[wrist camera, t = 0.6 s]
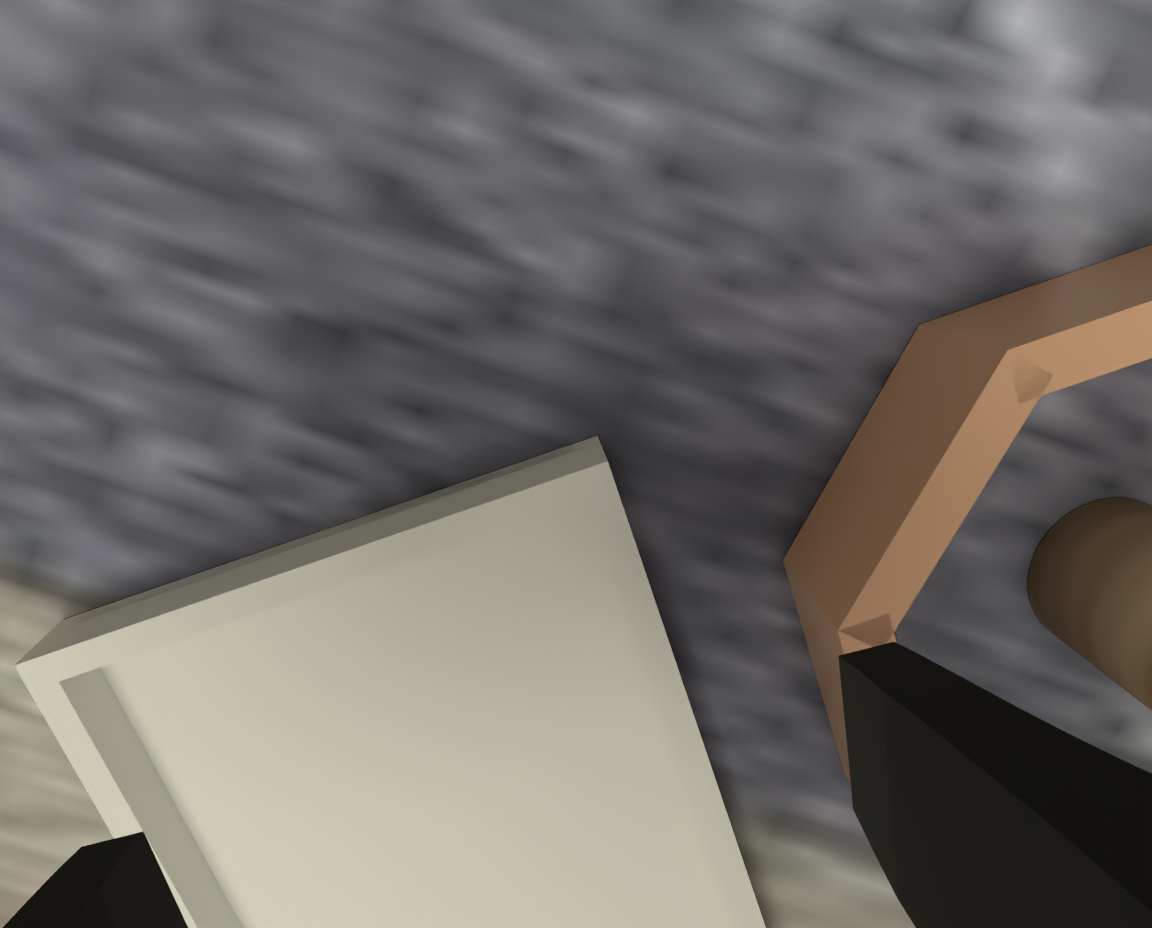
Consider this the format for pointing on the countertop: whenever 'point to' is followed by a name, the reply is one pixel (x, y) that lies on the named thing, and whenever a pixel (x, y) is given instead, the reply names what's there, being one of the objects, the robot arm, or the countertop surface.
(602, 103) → the countertop surface
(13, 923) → the robot arm
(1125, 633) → the wooden pin
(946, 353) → the octagonal open frame
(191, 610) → the cream tray
